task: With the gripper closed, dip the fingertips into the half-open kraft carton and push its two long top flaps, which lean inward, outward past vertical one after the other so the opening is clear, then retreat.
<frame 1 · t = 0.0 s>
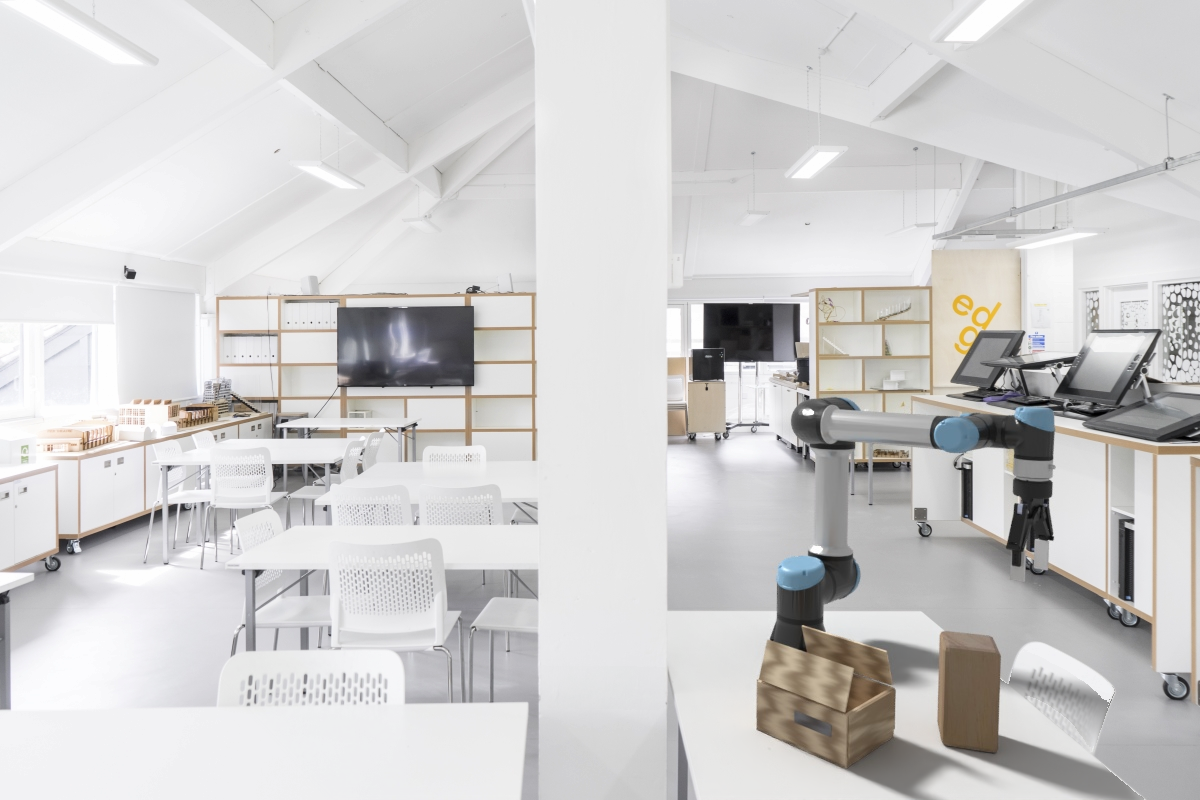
hand: (1029, 574, 168), 28 cm above the table, fingers open, 13 cm apart
flap far: (845, 654, 159), point 14 cm above the table, hinge at 20.0°
wooden block: (966, 739, 152), on the table
carton: (824, 732, 155), on the table
flap near: (804, 674, 149), point 14 cm above the table, hinge at 20.0°
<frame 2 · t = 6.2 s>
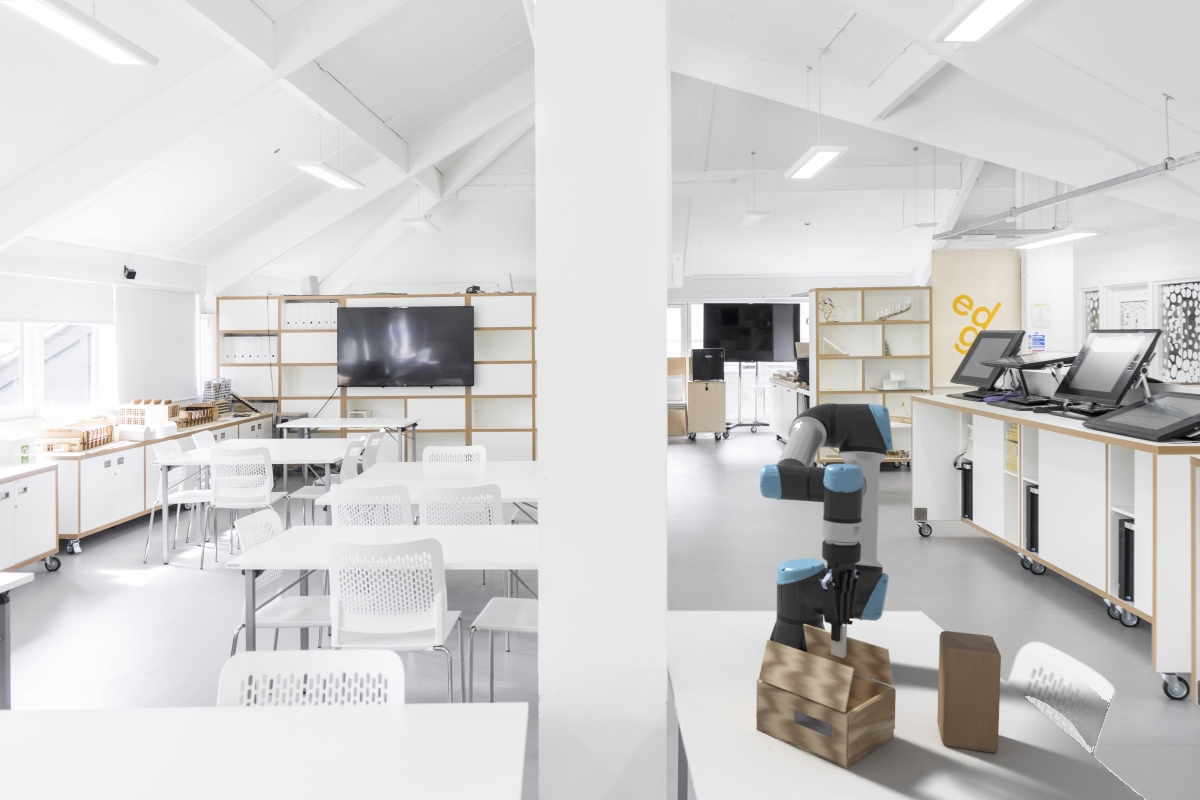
hand: (838, 655, 157), 15 cm above the table, fingers closed
flap far: (846, 653, 159), point 14 cm above the table, hinge at 15.9°, touching gripper
everything else where it was.
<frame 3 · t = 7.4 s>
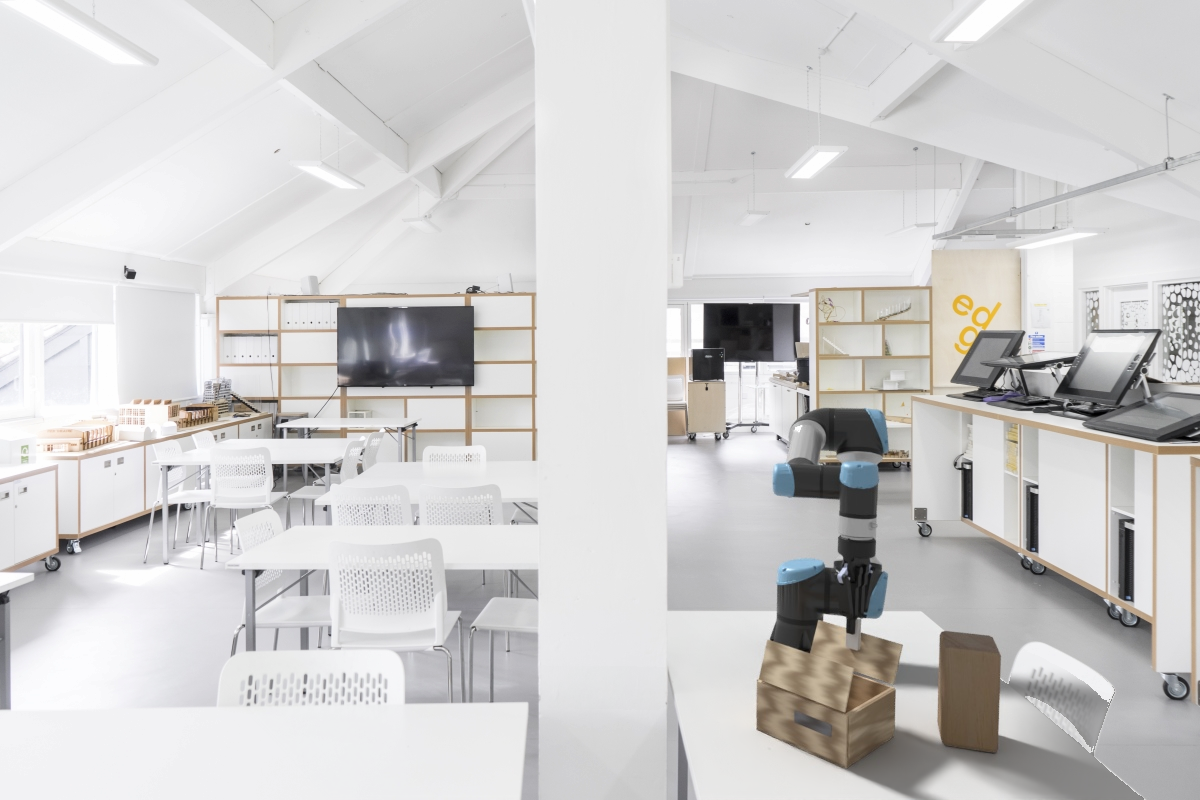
hand: (852, 648, 161), 15 cm above the table, fingers closed
flap far: (854, 650, 161), point 14 cm above the table, hinge at -25.0°, touching gripper
everything else where it was.
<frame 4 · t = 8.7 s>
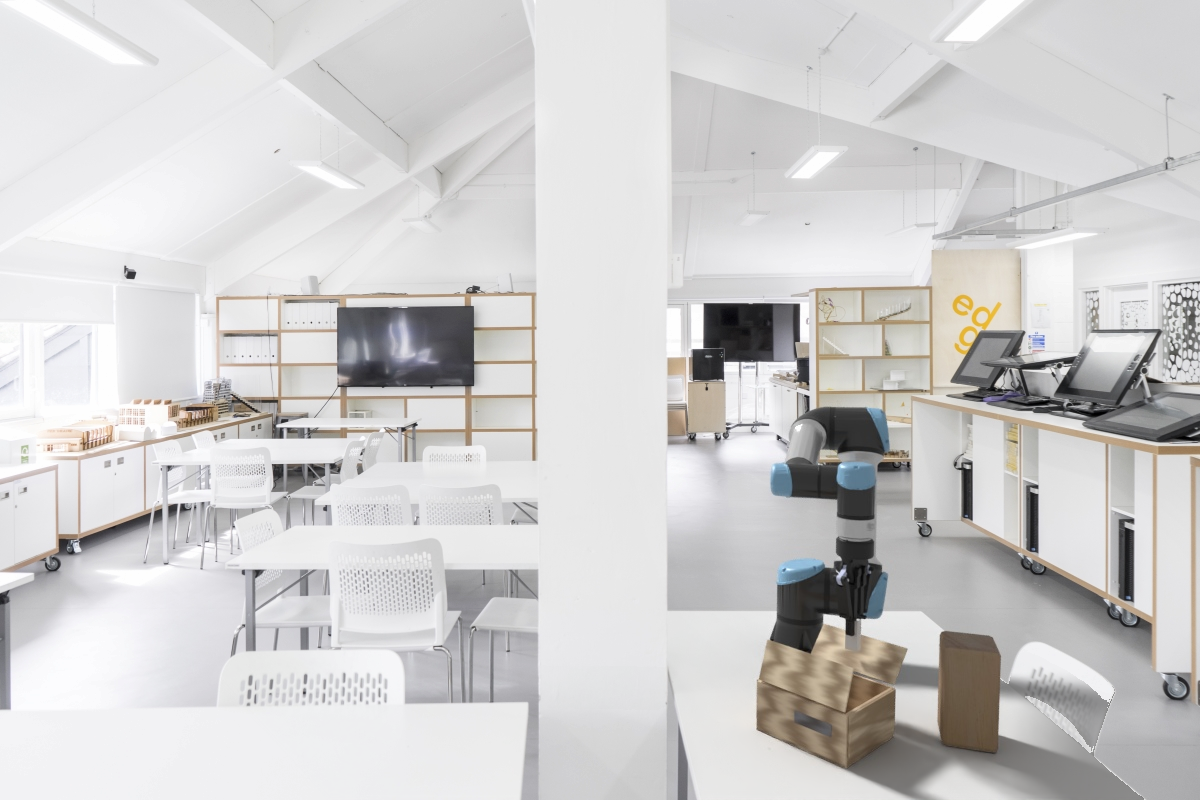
hand: (852, 649, 160), 15 cm above the table, fingers closed
flap far: (857, 652, 162), point 13 cm above the table, hinge at -41.9°
everything else where it was.
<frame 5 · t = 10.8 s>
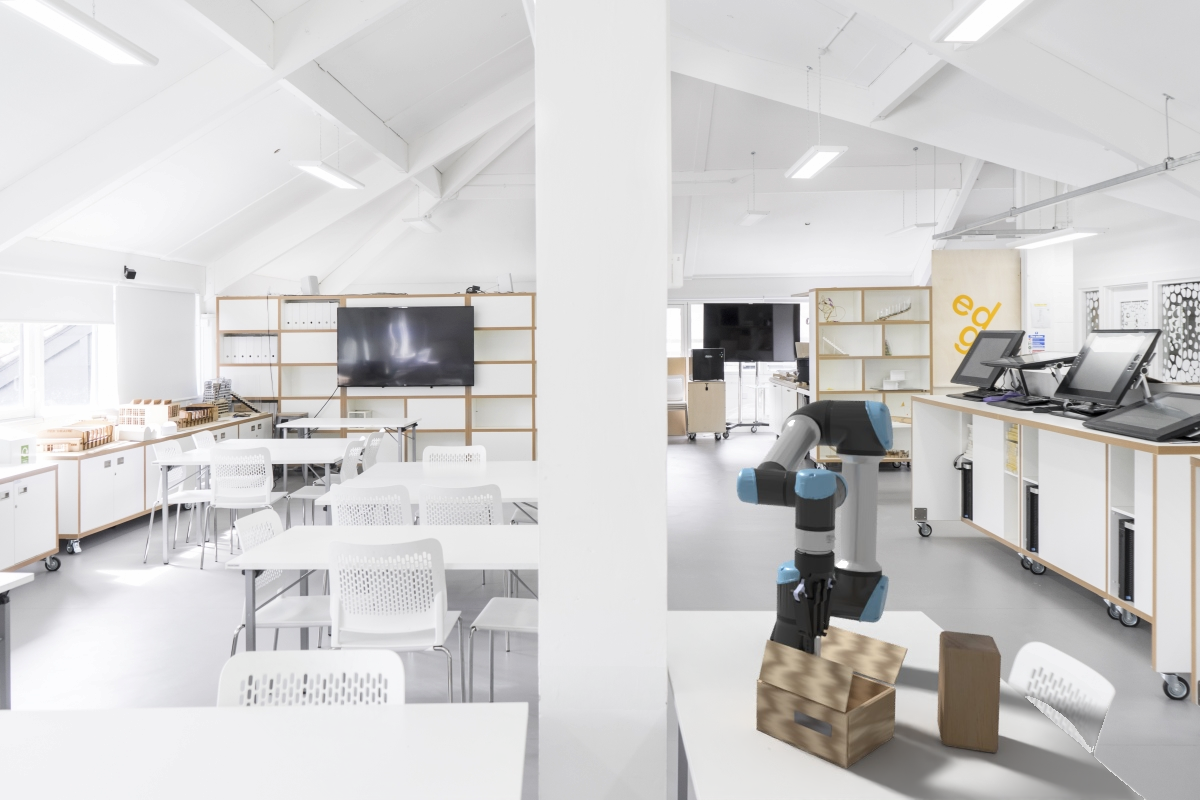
hand: (812, 668, 150), 15 cm above the table, fingers closed
flap near: (804, 674, 149), point 14 cm above the table, hinge at 19.2°, touching gripper
everything else where it was.
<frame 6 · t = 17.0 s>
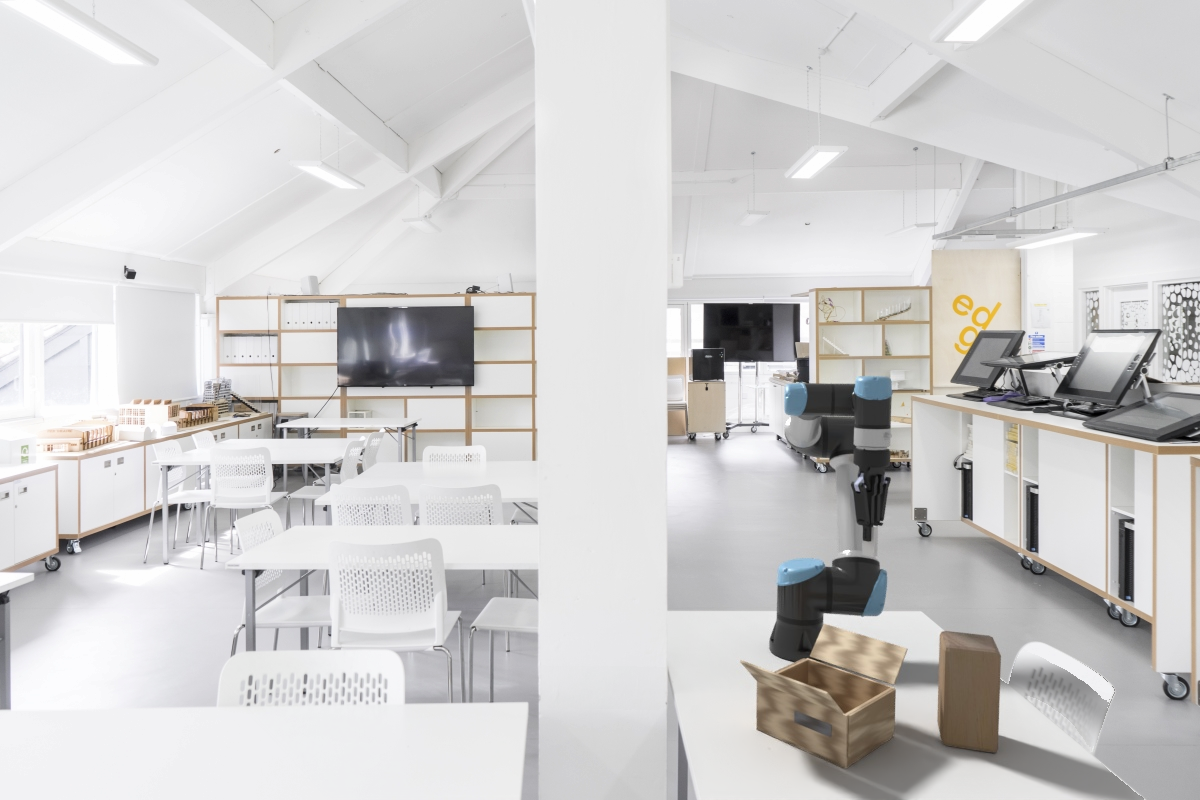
hand: (869, 555, 167), 32 cm above the table, fingers closed
flap near: (790, 686, 146), point 13 cm above the table, hinge at -45.3°
everything else where it was.
at the end: flap far at -42° (first picture: +20°); flap near at -45° (first picture: +20°) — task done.
